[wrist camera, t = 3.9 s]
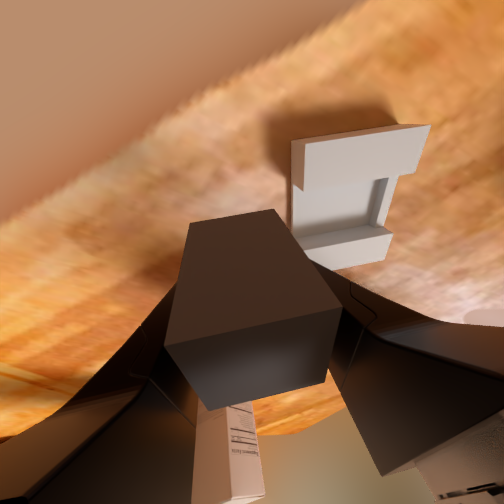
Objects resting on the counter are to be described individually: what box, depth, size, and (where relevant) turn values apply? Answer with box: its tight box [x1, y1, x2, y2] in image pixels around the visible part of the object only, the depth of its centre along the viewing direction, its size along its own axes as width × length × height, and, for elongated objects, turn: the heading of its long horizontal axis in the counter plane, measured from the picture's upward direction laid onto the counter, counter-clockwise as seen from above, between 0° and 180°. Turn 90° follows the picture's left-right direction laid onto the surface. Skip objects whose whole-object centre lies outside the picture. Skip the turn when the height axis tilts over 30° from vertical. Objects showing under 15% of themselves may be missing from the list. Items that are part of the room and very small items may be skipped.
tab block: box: [164, 209, 343, 411], centre depth 8 cm, size 4×4×6 cm
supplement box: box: [191, 398, 265, 504], centre depth 35 cm, size 9×9×15 cm
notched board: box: [291, 124, 431, 270], centre depth 19 cm, size 13×10×3 cm
